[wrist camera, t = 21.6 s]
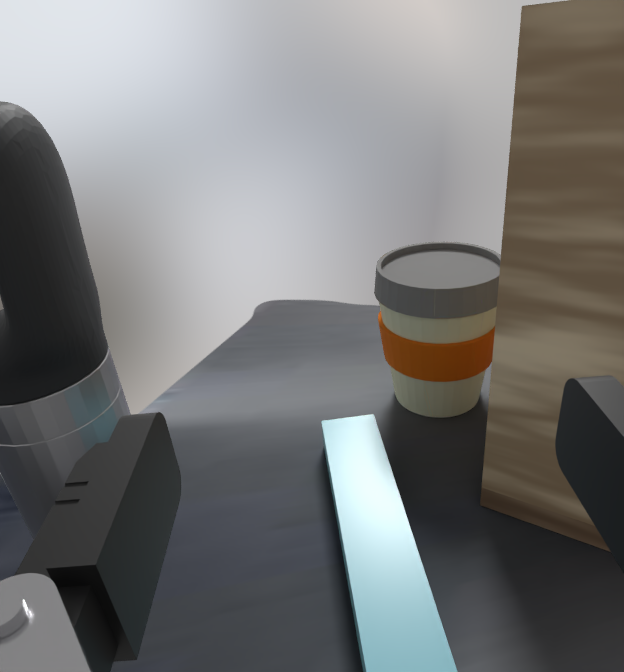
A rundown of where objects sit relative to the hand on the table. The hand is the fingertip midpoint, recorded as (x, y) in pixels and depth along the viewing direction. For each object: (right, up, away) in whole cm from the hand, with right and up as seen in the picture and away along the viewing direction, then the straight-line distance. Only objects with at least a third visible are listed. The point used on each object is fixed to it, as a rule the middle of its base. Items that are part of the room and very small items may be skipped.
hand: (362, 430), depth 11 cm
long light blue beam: (+4, -13, +30) cm, 33 cm away
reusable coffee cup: (+13, -4, +47) cm, 49 cm away
